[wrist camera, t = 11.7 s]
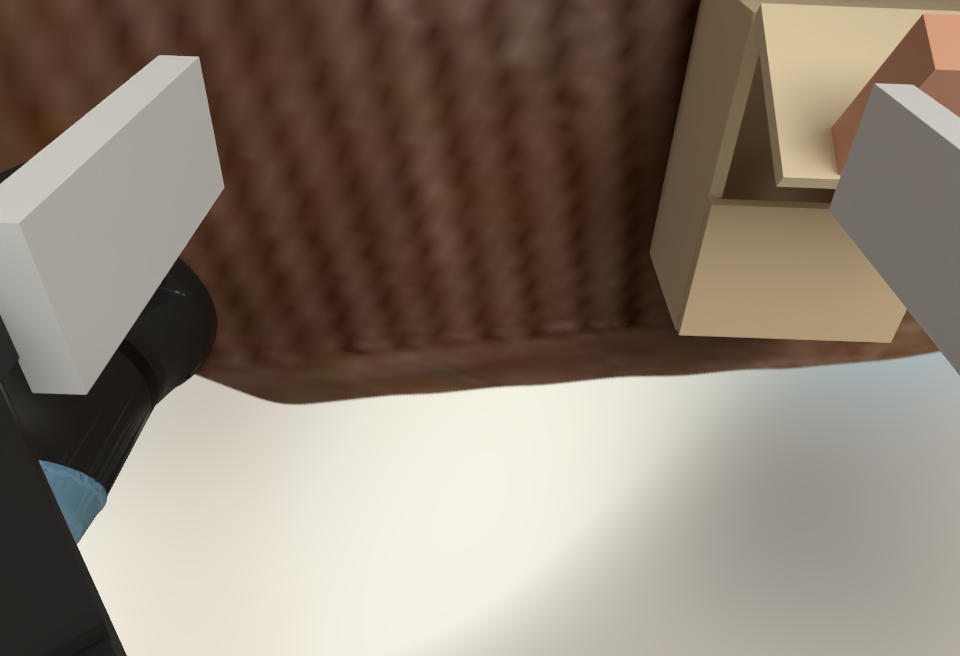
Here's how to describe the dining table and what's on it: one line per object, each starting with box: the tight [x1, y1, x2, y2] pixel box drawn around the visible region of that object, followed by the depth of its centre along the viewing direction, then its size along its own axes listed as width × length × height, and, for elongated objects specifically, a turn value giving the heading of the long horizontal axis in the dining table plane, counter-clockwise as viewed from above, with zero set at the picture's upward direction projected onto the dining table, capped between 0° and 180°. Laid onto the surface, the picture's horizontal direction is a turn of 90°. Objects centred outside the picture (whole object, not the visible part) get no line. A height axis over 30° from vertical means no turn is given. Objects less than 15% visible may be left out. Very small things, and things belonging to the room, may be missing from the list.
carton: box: [649, 0, 960, 343], centre depth 46 cm, size 14×20×11 cm
